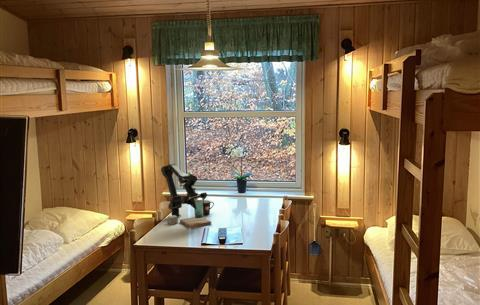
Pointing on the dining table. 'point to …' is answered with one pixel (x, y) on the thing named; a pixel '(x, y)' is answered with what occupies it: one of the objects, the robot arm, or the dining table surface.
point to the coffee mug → (206, 207)
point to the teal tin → (198, 207)
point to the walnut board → (195, 222)
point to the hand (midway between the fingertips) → (199, 208)
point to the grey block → (172, 219)
